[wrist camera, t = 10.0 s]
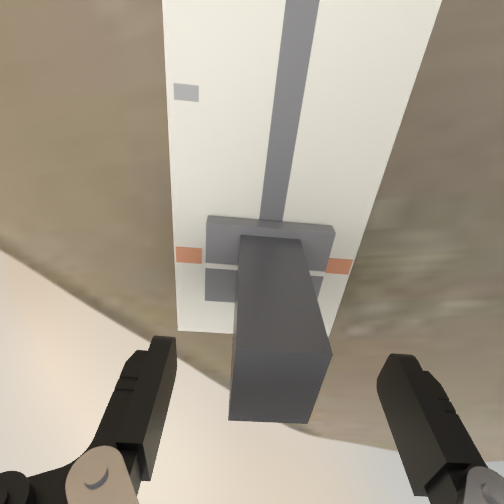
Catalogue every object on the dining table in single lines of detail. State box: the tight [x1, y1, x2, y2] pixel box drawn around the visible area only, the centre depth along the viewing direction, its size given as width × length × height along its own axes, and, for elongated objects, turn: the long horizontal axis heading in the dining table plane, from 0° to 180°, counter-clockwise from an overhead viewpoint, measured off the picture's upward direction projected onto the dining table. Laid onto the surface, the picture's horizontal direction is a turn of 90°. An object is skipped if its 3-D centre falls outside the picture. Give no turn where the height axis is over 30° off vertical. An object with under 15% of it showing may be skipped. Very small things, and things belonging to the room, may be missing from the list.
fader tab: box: [205, 216, 336, 424], centre depth 14 cm, size 6×5×8 cm
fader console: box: [162, 0, 442, 337], centre depth 14 cm, size 10×28×3 cm, turn 174°
